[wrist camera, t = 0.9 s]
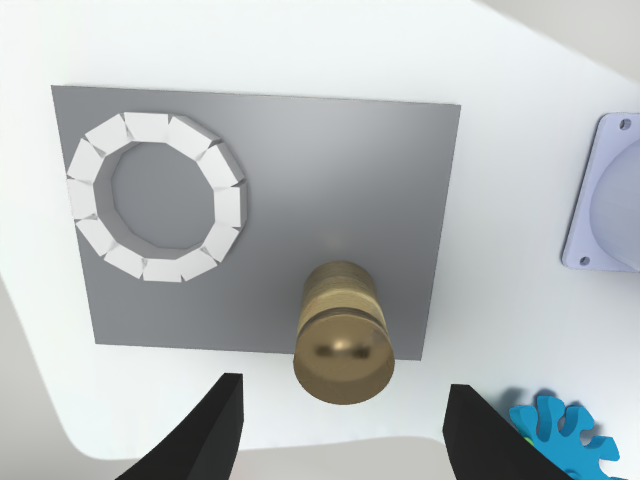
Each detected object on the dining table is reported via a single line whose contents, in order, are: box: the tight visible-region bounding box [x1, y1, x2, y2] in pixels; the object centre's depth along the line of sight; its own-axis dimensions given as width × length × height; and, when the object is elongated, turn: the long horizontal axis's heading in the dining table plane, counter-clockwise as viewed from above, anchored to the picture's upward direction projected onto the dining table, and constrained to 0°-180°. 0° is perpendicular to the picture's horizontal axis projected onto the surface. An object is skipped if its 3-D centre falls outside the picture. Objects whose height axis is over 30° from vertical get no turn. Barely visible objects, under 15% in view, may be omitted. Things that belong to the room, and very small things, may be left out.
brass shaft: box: [293, 261, 395, 405], centre depth 18 cm, size 4×4×6 cm
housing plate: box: [51, 85, 461, 361], centre depth 19 cm, size 19×14×2 cm
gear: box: [509, 396, 627, 480], centre depth 23 cm, size 11×6×10 cm
